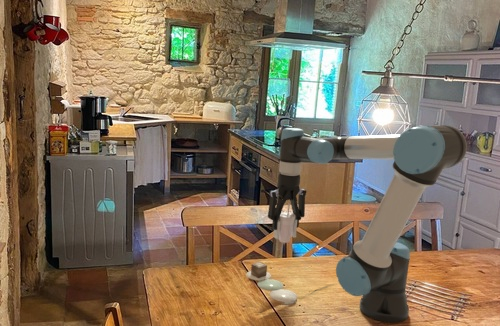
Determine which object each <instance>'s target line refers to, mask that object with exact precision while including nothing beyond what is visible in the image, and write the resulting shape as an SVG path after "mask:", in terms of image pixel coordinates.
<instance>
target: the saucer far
mask: <svg viewBox="0 0 500 326" xmlns="http://www.w3.org/2000/svg"><path fill="white" fill-rule="evenodd" d="M245 275H246V277H247V278H249V279H250V280H252V281H257V282H259V281H261V280H267V279H272V275H271V273H270V272H268V271H267V275H266V276H264V277H261V278H257V277H255V276H253V275H251V270H249V271H247V272H246V274H245Z"/></svg>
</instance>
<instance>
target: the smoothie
mask: <svg viewBox="0 0 500 326" xmlns="http://www.w3.org/2000/svg"><path fill="white" fill-rule="evenodd" d="M290 206H291V202H287V211H286V212H285V211H283V212H281V214H280V217H279V221H280V233H279V242H280V243H283V244H288V243H290V241H291V238H292V236H291V233H292V228H293V223H294V219H295V214H293V212H290Z"/></svg>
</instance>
